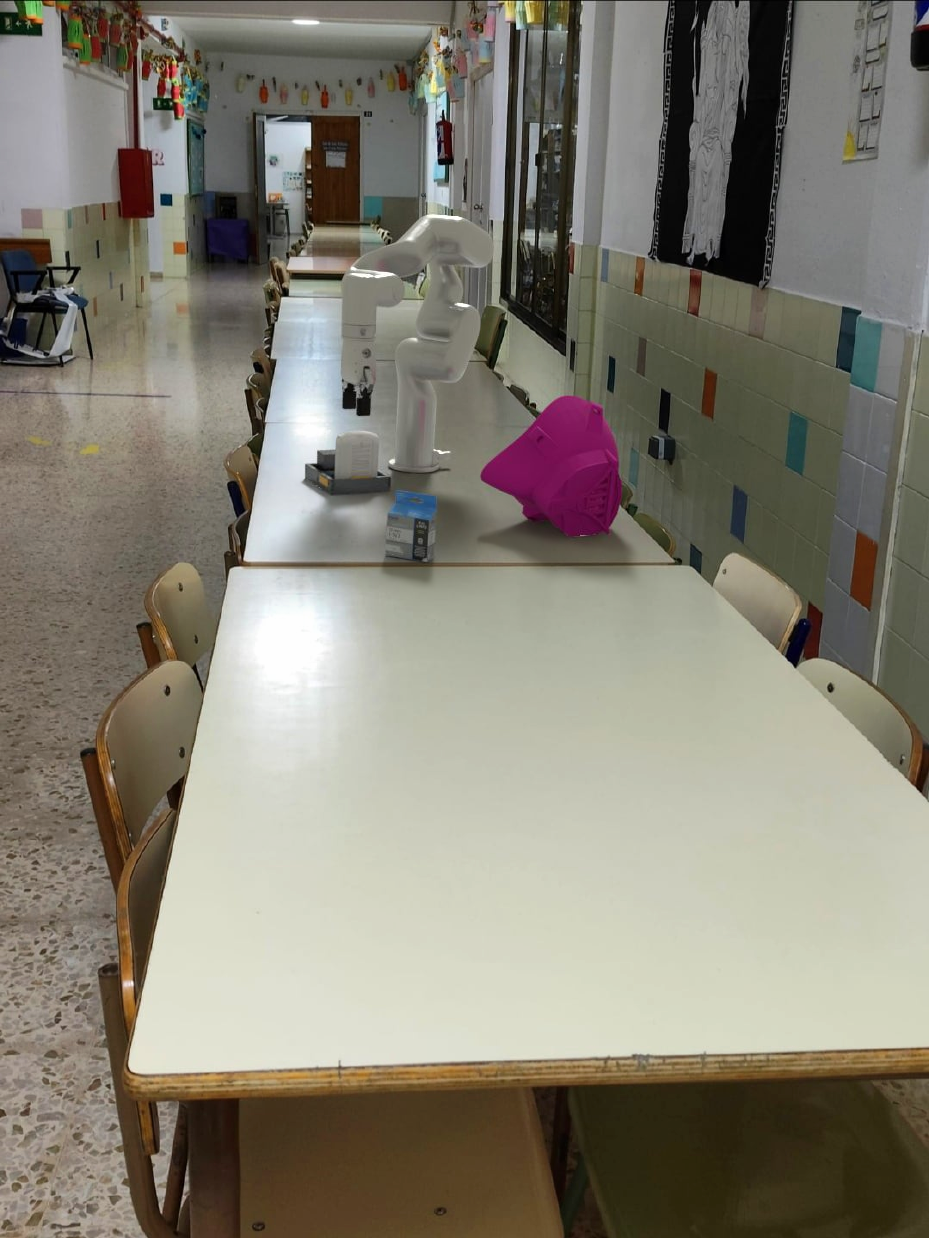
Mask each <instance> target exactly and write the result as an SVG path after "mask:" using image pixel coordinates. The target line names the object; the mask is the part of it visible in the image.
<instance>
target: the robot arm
mask: <svg viewBox="0 0 929 1238" xmlns="http://www.w3.org/2000/svg"><path fill="white" fill-rule="evenodd" d="M494 246H495V245H494V242H493V239H492V237H491V235H490V234H489V233H488V232H487V231H486V230H484V229H483V228H481V227H480V226H478V225H477V224H475V223H474V222H472V221H470V220H469V219H466V218H465V217H460V216H452V215H439V214H427V215H424V216H421V217H420V218H418V219H417V221H415V222H414V223H413V224H412V226H410V227H409V228H408V230H407V231H406V232H405V233H404V234H402V236H401V237H400V238H399V239H398V240H397V241H395V242H394V243H391V244H388V245H385V246H383V247H379V248H377V249H375V250H372V251H369V252H368V253H365V254H363V255H362V256H360V257H359V258H358V259H356V260H355V261H354V262H353V263H352V264H351V265H350V267H348V269H347V270H346V272H344V275H343V277H342V279H341V284H340V288H341V289H340V291H341V293H342V295H341V296H342V297H341V331H340V332H341V333H340V334H341V335H340V338H341V339H342V345H341V359H340V360H341V361H340V377H341V383H342V390H341V391H342V404H341V406H342V409H343V410H356V413H355V414H356V416H357V417H369V416H371V411H372V410H371V409H372V408H371V407H372V401H371V400H372V397H373V394H372V393H373V391H374V386H376V385H377V376H378V375H377V351H376V350H377V349H376V342H375V341H376V334H377V333H376V332H377V330H376V329H377V308H379V307H380V308H387V309H388V308H393V307H396V306H397V305H399V304H400V303H401V302H402V300H403V299H404V297H405V293H406V292H405V291H406V290H405V289H406V288H405V287H406V286H405V284H404V281H403V279H402V278H406V277H411V276H413V275H416V274H419V273H420V272H422V271H423V270H424V268H426V266H427V265H428V267H429V274H430V281H429V286H428V289H427V290H426V294H425V296H424V299H423V301H422V304H421V306H420V308H419V311H418V313H417V317H416V320H415V331H416V333H417V335H419V336H420V337H409V338H405V339H403V340H402V341H400V343H399V344H398V345H397V346H396V349H395V352H394V361H395V362H394V363H395V368H396V377H397V379H396V380H397V404H396V428H395V447H394V448H395V450H394V451H395V452H394V458H391V459H390V460H389V461H388V467H389V468H390V469H393V470H396V471H399V472H403V473H415V474H416V473H418V474H420V473H423V474H424V473H432V472H436V471H438V470H439V469H440V463H439V461H440V460H451V458H452V453H451V451H442V450H438V449H435V433H436V432H435V430H436V418H437V417H436V414H437V393H436V391H435V389H434V388H435V387H434V386H433V384H432V382H433V381H434V382H441V383H446V384H447V383H448V384H452V383H453V384H454V383H457V382H458V381H460V380H461V379H462V377H463V375H464V374H465V371H466V370H467V366H468V365H469V362H470V359H471V357H472V354H473V352H474V349H475V347H476V344H477V341H478V339H479V336H480V331H481V315H480V313H479V311H478V309H477V308H476V307H474V306H473V305H471V304H467V303H461V301H462V299H463V295H464V285H463V282H462V280H461V278H460V277H459V275H458V273H457V271H456V268H455V267H456V266H457V267H464V268H473V269H475V268H477V269H481V268H485V267H487V266H488V265H489V264H490V263H491V261H492V259H493V257H494V252H495V249H494V248H495V247H494ZM431 381H432V382H431ZM357 396H358V397H357Z"/></svg>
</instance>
